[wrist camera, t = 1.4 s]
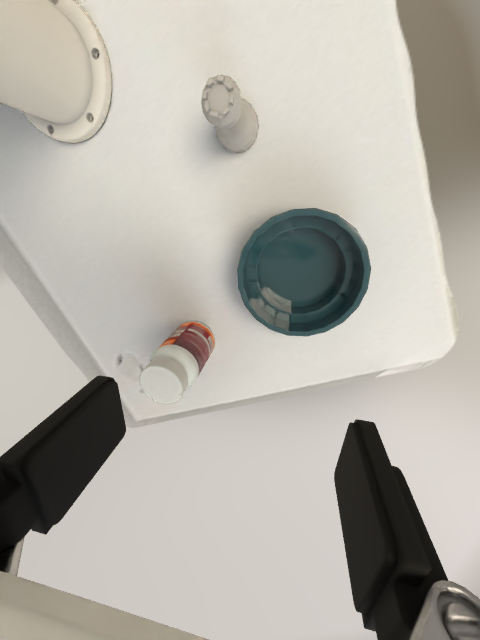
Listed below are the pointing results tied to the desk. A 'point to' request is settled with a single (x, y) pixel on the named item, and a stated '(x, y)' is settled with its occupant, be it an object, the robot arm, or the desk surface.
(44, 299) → the desk surface
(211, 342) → the pill bottle
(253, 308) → the bowl
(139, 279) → the desk surface
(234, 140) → the rook chess piece
